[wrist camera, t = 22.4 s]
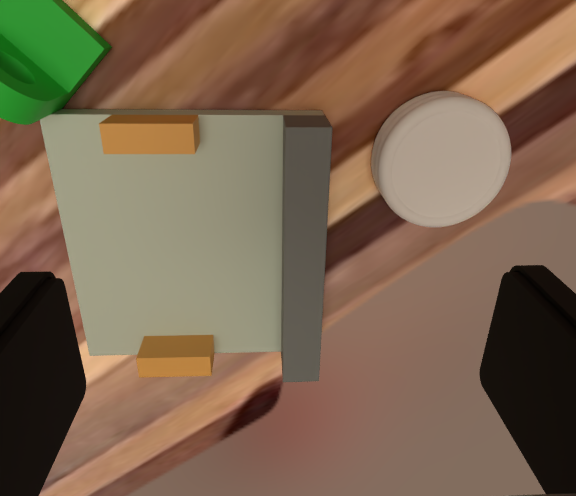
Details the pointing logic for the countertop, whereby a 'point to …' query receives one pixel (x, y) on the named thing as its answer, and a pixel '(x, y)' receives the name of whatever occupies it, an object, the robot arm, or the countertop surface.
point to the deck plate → (195, 232)
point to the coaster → (440, 158)
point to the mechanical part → (43, 57)
